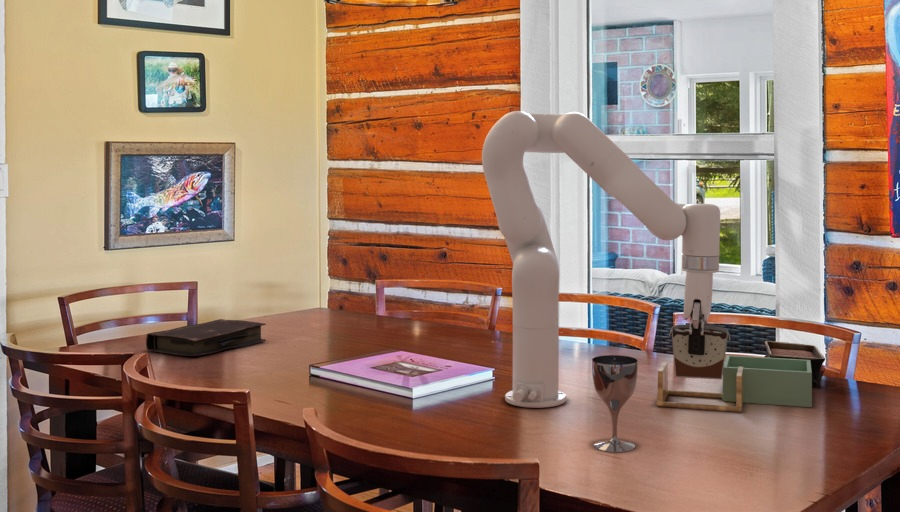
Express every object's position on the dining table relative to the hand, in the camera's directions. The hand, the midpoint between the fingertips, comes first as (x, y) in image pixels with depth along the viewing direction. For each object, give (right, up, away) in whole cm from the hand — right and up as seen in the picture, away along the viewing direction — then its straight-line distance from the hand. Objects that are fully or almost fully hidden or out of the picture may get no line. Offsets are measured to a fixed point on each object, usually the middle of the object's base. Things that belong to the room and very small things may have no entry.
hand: (697, 350), depth 198 cm
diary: (-118, -11, +57) cm, 132 cm away
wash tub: (+16, -11, +5) cm, 20 cm away
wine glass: (-20, -11, -29) cm, 37 cm away
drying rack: (+1, -11, 0) cm, 11 cm away
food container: (0, -5, 0) cm, 5 cm away
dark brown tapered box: (+25, -11, +20) cm, 34 cm away
